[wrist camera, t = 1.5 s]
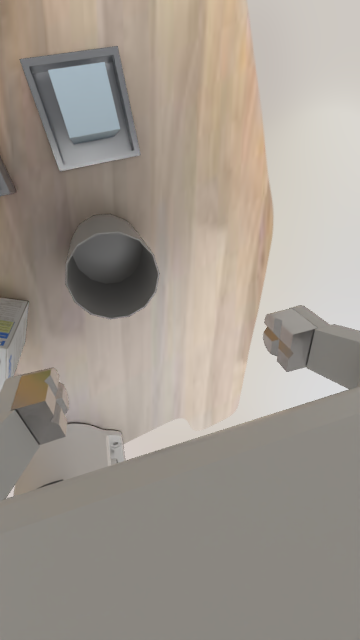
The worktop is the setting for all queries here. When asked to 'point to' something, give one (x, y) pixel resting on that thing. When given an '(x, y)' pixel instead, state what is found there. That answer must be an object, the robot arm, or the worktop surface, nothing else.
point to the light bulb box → (11, 335)
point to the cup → (110, 268)
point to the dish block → (53, 120)
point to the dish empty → (5, 181)
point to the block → (85, 102)
